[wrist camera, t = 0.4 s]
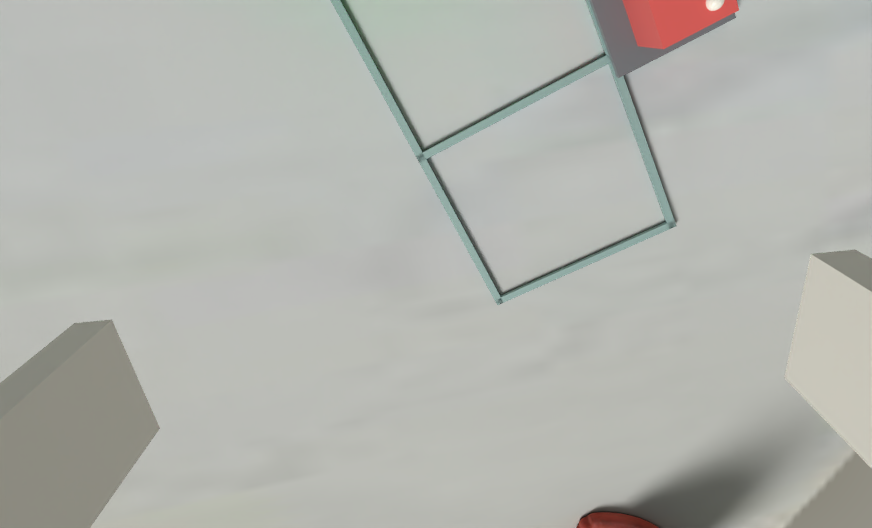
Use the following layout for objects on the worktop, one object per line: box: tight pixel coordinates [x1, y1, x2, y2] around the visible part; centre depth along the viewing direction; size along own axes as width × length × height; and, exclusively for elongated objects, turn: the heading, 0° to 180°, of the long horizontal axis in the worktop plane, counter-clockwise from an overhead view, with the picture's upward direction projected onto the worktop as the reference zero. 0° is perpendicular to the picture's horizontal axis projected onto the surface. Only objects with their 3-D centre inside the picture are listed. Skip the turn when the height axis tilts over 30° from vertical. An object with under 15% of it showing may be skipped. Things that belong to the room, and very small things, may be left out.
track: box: [331, 0, 676, 305], centre depth 31 cm, size 38×14×1 cm, turn 28°
